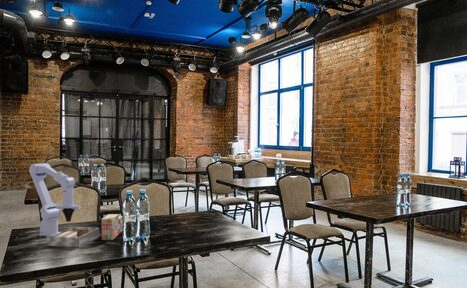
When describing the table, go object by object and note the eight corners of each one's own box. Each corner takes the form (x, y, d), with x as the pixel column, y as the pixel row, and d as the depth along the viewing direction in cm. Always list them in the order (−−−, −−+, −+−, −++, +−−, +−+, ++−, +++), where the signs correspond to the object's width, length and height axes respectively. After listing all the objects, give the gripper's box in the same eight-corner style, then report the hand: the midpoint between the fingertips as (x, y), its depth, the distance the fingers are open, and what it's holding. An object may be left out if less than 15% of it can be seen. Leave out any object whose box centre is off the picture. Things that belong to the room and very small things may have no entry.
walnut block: (76, 236, 206) (76, 229, 206) (81, 234, 210) (81, 227, 210) (83, 237, 205) (83, 229, 205) (87, 235, 209) (87, 228, 209)
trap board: (46, 245, 199) (46, 236, 199) (70, 235, 220) (70, 226, 220) (78, 247, 196) (78, 237, 196) (99, 236, 217) (99, 228, 217)
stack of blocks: (113, 230, 231) (113, 211, 231) (123, 230, 232) (123, 210, 231) (101, 240, 210) (101, 218, 210) (112, 240, 210) (112, 218, 210)
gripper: (52, 198, 212) (52, 222, 212) (75, 199, 210) (75, 223, 210) (60, 196, 219) (60, 219, 219) (82, 197, 217) (82, 220, 217)
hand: (68, 221), depth 215 cm, fingers closed
